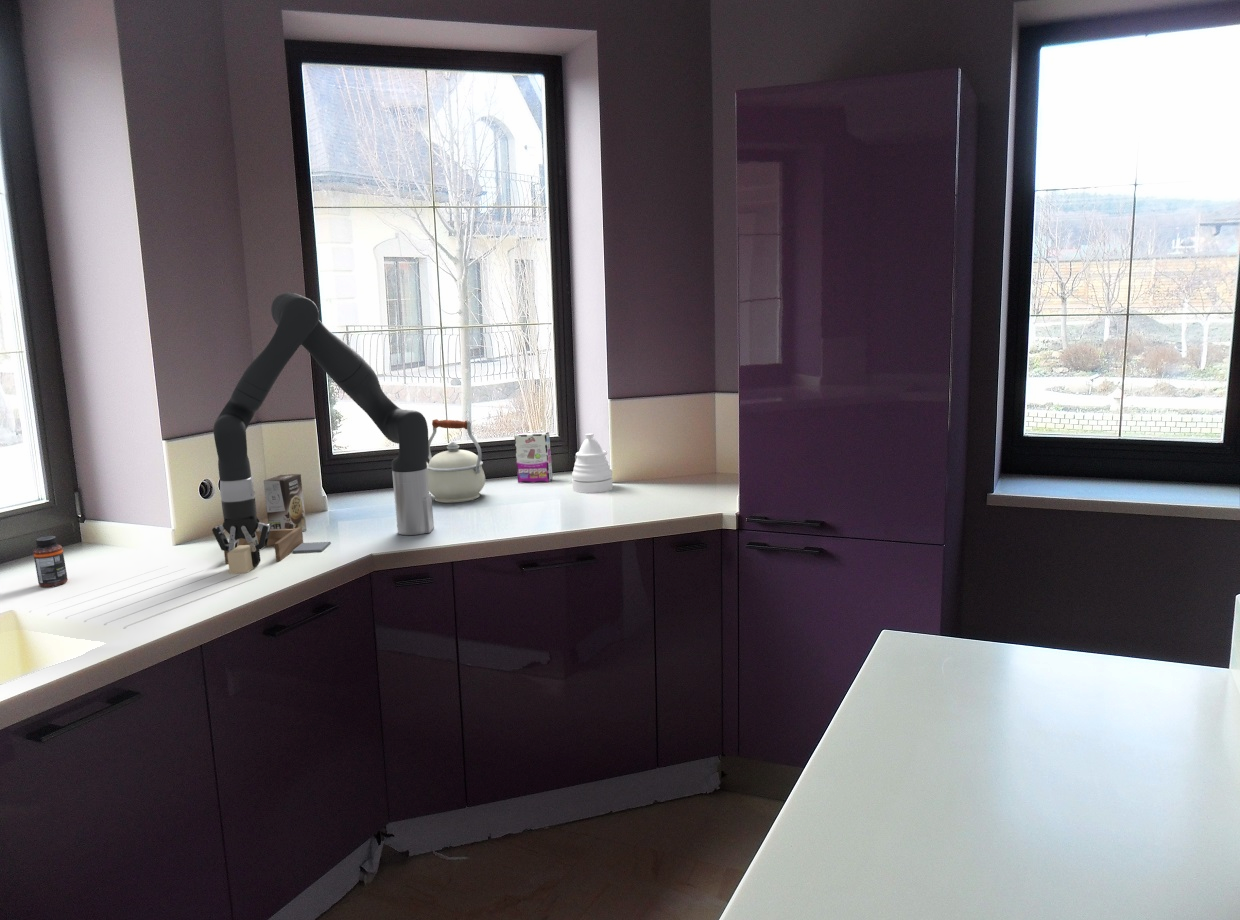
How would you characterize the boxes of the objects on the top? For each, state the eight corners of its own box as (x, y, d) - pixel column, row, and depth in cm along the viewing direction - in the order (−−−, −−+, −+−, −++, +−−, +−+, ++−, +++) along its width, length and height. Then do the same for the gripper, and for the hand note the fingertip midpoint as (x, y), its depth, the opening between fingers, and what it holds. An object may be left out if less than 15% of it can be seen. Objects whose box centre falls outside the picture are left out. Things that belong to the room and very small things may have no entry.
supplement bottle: (47, 581, 223) (39, 535, 221) (72, 579, 223) (65, 533, 221) (33, 589, 217) (25, 541, 215) (60, 587, 217) (52, 540, 215)
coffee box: (290, 538, 253) (283, 480, 250) (268, 538, 254) (262, 480, 252) (307, 529, 262) (301, 473, 259) (287, 529, 263) (280, 473, 260)
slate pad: (330, 543, 245) (330, 541, 245) (321, 551, 238) (321, 549, 237) (302, 545, 245) (302, 542, 245) (292, 553, 238) (292, 550, 238)
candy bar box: (553, 479, 317) (550, 431, 314) (549, 482, 312) (546, 434, 309) (521, 479, 319) (517, 432, 316) (517, 482, 314) (513, 434, 311)
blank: (257, 564, 229) (255, 544, 228) (246, 572, 222) (244, 552, 221) (241, 565, 229) (239, 545, 228) (229, 573, 222) (227, 553, 221)
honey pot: (612, 492, 292) (609, 435, 289) (571, 493, 293) (568, 437, 289) (613, 483, 305) (610, 429, 302) (573, 485, 305) (570, 431, 302)
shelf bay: (303, 543, 247) (301, 526, 246) (280, 561, 231) (278, 543, 230) (252, 545, 247) (250, 529, 247) (225, 563, 231) (223, 546, 230)
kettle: (502, 494, 296) (497, 417, 292) (463, 507, 281) (457, 425, 277) (444, 489, 309) (438, 414, 305) (404, 500, 294) (396, 422, 290)
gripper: (201, 501, 220) (210, 572, 223) (261, 499, 220) (269, 569, 223) (215, 495, 227) (223, 563, 230) (273, 492, 227) (281, 560, 230)
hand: (246, 565), depth 227 cm, fingers closed on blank, 4 cm apart
